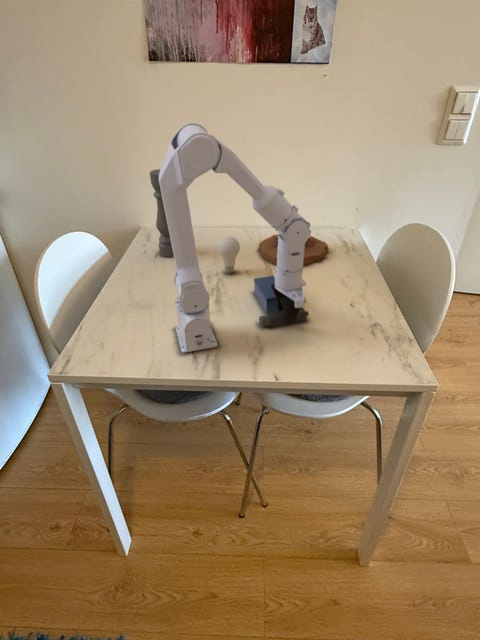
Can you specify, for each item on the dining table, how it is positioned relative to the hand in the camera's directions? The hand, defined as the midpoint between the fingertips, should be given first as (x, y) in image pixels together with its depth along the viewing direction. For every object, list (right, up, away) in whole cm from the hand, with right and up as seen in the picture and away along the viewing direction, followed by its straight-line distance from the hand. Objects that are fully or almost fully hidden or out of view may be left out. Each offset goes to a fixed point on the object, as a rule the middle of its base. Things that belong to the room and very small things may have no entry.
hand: (286, 317), depth 98 cm
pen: (0, -1, +1) cm, 1 cm away
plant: (+5, +20, +31) cm, 38 cm away
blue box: (-3, +4, +8) cm, 10 cm away
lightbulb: (-14, +13, +21) cm, 28 cm away
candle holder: (-33, +20, +32) cm, 51 cm away
